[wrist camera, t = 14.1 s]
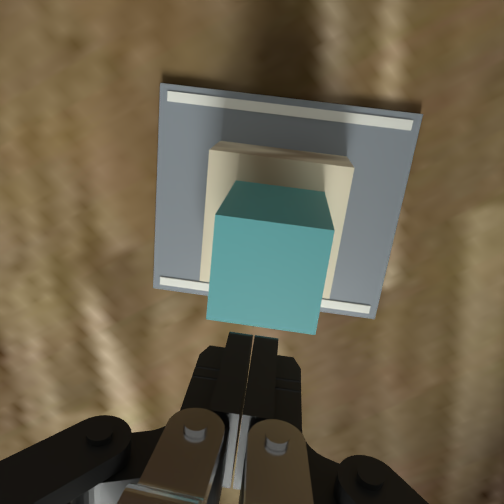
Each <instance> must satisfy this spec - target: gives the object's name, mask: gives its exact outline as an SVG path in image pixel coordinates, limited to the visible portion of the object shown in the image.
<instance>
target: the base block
mask: <svg viewBox="0 0 504 504" xmlns="http://www.w3.org/2000/svg"><path fill="white" fill-rule="evenodd" d="M353 173H354V166H353V165H352V163H351V162H350V160H349V159H348V157H347V156H339V155H331V154H323V153H315V152H307V151H299V150H291V149H283V148H275V147H267V146H259V145H251V144H243V143H235V142H227V141H219V142H218V143H217V144H216V145H214V146H213V147H212V148H211V149H209V159H208V173H207V186H206V200H205V213H204V227H203V240H202V254H201V267H200V280H199V281H204V282H209V281H210V269H211V257H212V245H213V233H214V222H215V214H216V212H217V211H218V209H219V207H220V206H221V204H222V202H223V201H224V199H225V197H226V196H227V194H228V192H229V191H230V189H231V188H232V186H233V184H234V183H235V181H236V180H237V181H245V182H253V183H260V184H268V185H276V186H284V187H291V188H299V189H307V190H314V191H322V192H325V195H326V199H327V203H328V207H329V210H330V214H331V218H332V222H333V226H334V230H335V232H334V237H333V242H332V248H331V253H330V258H329V264H328V269H327V275H326V280H325V285H324V291H323V296H322V298H326V299H329V298H330V293H331V288H332V283H333V278H334V272H335V267H336V262H337V257H338V251H339V246H340V241H341V236H342V231H343V225H344V220H345V215H346V210H347V204H348V199H349V194H350V189H351V184H352V178H353Z"/></svg>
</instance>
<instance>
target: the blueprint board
mask: <svg viewBox="0 0 504 504" xmlns="http://www.w3.org/2000/svg"><path fill="white" fill-rule="evenodd" d="M422 117H423V114H419V113H410V112H402V111H394V110H385V109H377V108H368V107H360V106H352V105H343V104H335V103H326V102H318V101H310V100H301V99H293V98H285V97H276V96H268V95H259V94H251V93H243V92H234V91H226V90H217V89H209V88H201V87H192V86H184V85H176V84H167V83H160V104H159V134H158V163H157V193H156V223H155V252H154V282H153V288H157V289H164V290H171V291H178V292H185V293H192V294H199V295H206V296H208V293H209V282H204V281H199V280H200V267H201V254H202V240H203V227H204V213H205V200H206V186H207V173H208V159H209V149H211V148H212V147H213V146H214V145H216V144H217V143H218V142H219V141H227V142H235V143H243V144H251V145H259V146H267V147H275V148H283V149H291V150H299V151H307V152H315V153H323V154H331V155H339V156H347V157H348V159H349V160H350V162H351V163H352V165H353V166H354V173H353V178H352V184H351V189H350V194H349V199H348V204H347V210H346V215H345V220H344V225H343V231H342V236H341V241H340V246H339V251H338V257H337V262H336V267H335V272H334V278H333V283H332V288H331V293H330V298H329V299H326V298H322V301H321V307H320V312H327V313H335V314H342V315H349V316H356V317H363V318H370V319H375V316H376V311H377V307H378V303H379V299H380V294H381V290H382V286H383V282H384V277H385V273H386V269H387V265H388V261H389V256H390V252H391V248H392V244H393V239H394V235H395V231H396V227H397V222H398V218H399V214H400V210H401V205H402V201H403V197H404V193H405V189H406V184H407V180H408V176H409V172H410V167H411V163H412V159H413V155H414V150H415V146H416V142H417V138H418V134H419V129H420V125H421V121H422Z"/></svg>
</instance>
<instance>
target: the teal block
mask: <svg viewBox="0 0 504 504" xmlns="http://www.w3.org/2000/svg"><path fill="white" fill-rule="evenodd" d="M334 232H335V230H334V226H333V222H332V218H331V214H330V210H329V207H328V203H327V199H326V195H325V192H322V191H314V190H307V189H299V188H291V187H284V186H276V185H268V184H260V183H253V182H245V181H237V180H236V181H235V183H234V184H233V186H232V188H231V189H230V191H229V192H228V194H227V196H226V197H225V199H224V201H223V202H222V204H221V206H220V207H219V209H218V211H217V212H216V214H215V222H214V233H213V245H212V257H211V269H210V281H209V293H208V304H207V316H206V319H208V320H215V321H222V322H229V323H236V324H243V325H250V326H257V327H264V328H271V329H278V330H285V331H292V332H299V333H306V334H312V335H315V334H316V328H317V323H318V317H319V312H320V307H321V301H322V296H323V291H324V285H325V280H326V275H327V269H328V264H329V258H330V253H331V248H332V242H333V237H334Z"/></svg>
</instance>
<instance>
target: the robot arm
mask: <svg viewBox="0 0 504 504" xmlns="http://www.w3.org/2000/svg"><path fill="white" fill-rule="evenodd" d="M252 339H253V335H249V334H242V333H235V332H229V335H228V339H227V343H226V347H225V348H223V347H216V346H209V347H208V348H207V349H205V350H204V351H203V352H202V353H201V354H200V355H199V358H198V361H197V364H196V367H195V369H194V372H193V376H192V378H191V381H190V384H189V386H188V389H187V392H186V395H185V398H184V401H183V404H182V407H181V409H180V411H179V412H177V413H175V414H174V415H173V416H172V417H171V418H170V419H169V421H168V422H167V424H166V426H164V427H162V428H159V429H156V430H152V431H144V432H134V433H131V429H130V427H129V425H128V424H127V423H126V422H125V421H124V420H122V419H120V418H118V417H115V416H108V415H102V416H95V417H91V418H88V419H86V420H84V421H82V422H79V423H77V424H75V425H73V426H71V427H69V428H67V429H65V430H63V431H61V432H59V433H57V434H55V435H53V436H51V437H49V438H47V439H45V440H42V441H40V442H38V443H36V444H34V445H32V446H30V447H28V448H26V449H24V450H22V451H20V452H18V453H16V454H14V455H12V456H10V457H8V458H5V459H3V460H1V461H0V504H219V501H220V496H221V490H222V487H226V488H230V487H231V481H232V475H233V468H234V462H235V456H236V450H237V443H238V437H239V431H240V437H239V445H238V453H237V461H236V469H235V477H234V485H233V489H240V497H239V504H428V503H427V502H426V501H425V500H424V499H423V498H422V497H421V496H420V495H419V494H418V493H417V492H416V491H415V490H413V489H412V488H411V487H410V486H409V485H408V484H407V483H406V482H405V481H404V480H403V479H402V478H401V477H400V476H399V475H397V474H396V473H395V472H394V471H393V470H392V469H391V468H390V467H389V466H387V465H386V464H385V463H383V462H382V461H380V460H378V459H375V458H373V457H369V456H365V455H354V456H350V457H347V458H346V459H344V460H343V461H342V462H341V463H340V464H339V463H336V462H334V461H332V460H329V459H327V458H325V457H323V456H321V455H319V454H318V453H316V452H315V451H314V450H313V449H312V448H311V447H310V446H309V445H308V444H307V442H306V441H305V438H304V436H303V434H302V412H301V369H300V367H299V365H298V364H297V362H296V361H295V359H294V358H293V357H287V356H280V355H277V351H278V338H271V337H264V336H257V335H255V338H254V344H253V351H252V357H251V363H250V355H251V347H252ZM249 363H250V369H249ZM248 371H249V376H248ZM247 378H248V382H247ZM246 386H247V388H246ZM245 393H246V395H245ZM244 400H245V401H244ZM243 406H244V407H243ZM242 412H243V414H242ZM241 418H242V421H241ZM240 425H241V429H240Z"/></svg>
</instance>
